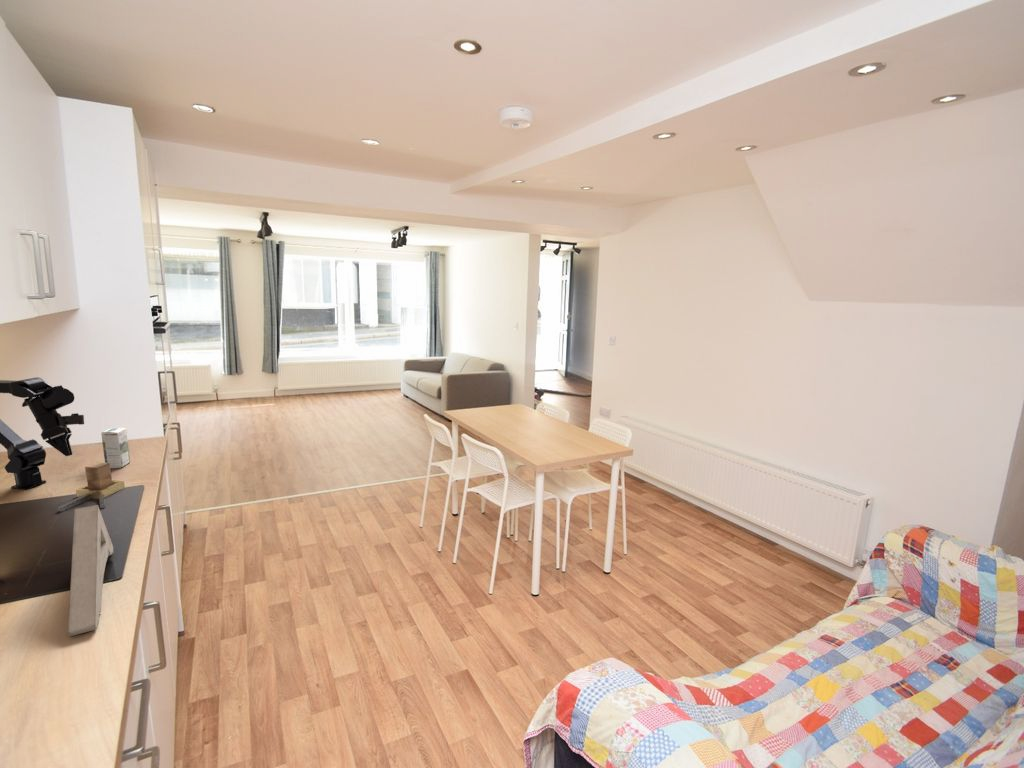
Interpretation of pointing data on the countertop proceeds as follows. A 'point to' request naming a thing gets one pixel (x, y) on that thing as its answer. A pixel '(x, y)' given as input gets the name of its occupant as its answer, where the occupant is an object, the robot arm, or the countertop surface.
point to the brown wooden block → (98, 476)
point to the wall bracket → (87, 569)
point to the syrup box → (116, 447)
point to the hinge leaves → (93, 495)
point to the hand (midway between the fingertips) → (69, 455)
